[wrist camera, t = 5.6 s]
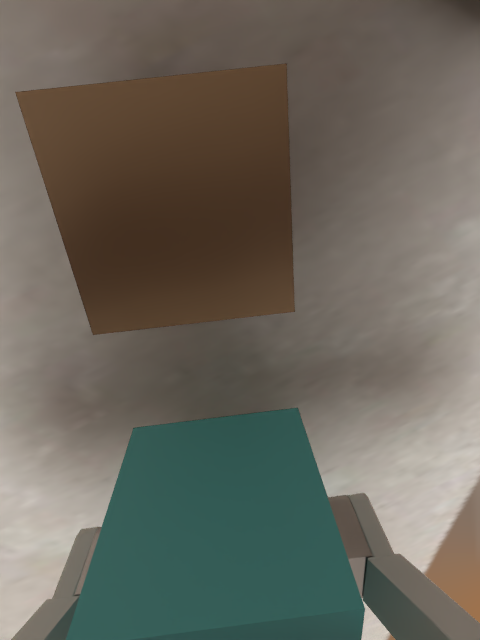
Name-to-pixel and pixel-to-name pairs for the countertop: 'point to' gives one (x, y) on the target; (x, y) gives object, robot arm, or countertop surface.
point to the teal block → (219, 539)
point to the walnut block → (171, 194)
